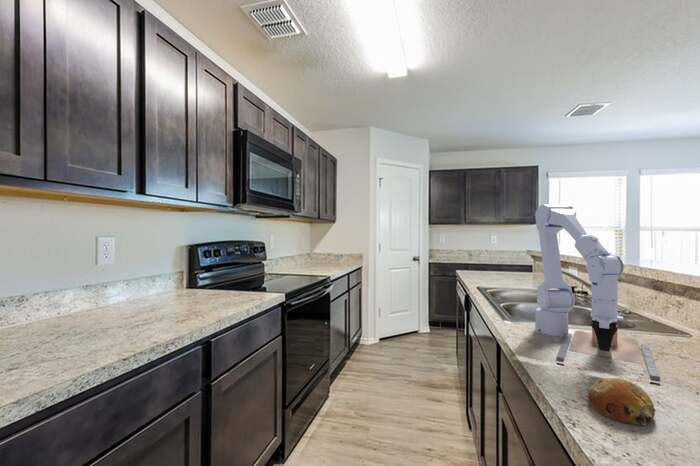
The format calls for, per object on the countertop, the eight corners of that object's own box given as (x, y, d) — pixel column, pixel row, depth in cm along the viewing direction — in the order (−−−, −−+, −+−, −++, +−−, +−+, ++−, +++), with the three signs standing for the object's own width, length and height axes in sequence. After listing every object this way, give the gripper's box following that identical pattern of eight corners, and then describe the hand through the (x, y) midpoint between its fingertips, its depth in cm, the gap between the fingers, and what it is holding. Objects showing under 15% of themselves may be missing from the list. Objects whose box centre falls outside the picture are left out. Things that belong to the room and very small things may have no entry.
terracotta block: (592, 342, 101) (592, 322, 101) (592, 337, 106) (592, 318, 106) (617, 346, 97) (617, 325, 97) (616, 340, 102) (616, 321, 102)
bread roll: (644, 426, 66) (635, 382, 69) (672, 430, 57) (660, 380, 60) (585, 417, 69) (579, 375, 72) (603, 420, 60) (596, 372, 63)
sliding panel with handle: (568, 354, 94) (568, 333, 94) (575, 333, 113) (575, 316, 113) (644, 368, 84) (644, 344, 84) (637, 343, 103) (637, 323, 103)
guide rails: (556, 364, 87) (556, 356, 87) (565, 339, 108) (565, 332, 108) (660, 385, 75) (660, 376, 75) (648, 352, 95) (648, 345, 95)
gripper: (624, 305, 82) (624, 360, 82) (622, 296, 94) (622, 344, 94) (589, 302, 87) (589, 353, 87) (591, 293, 98) (591, 339, 98)
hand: (604, 348), depth 90 cm, fingers closed on sliding panel with handle, 3 cm apart
